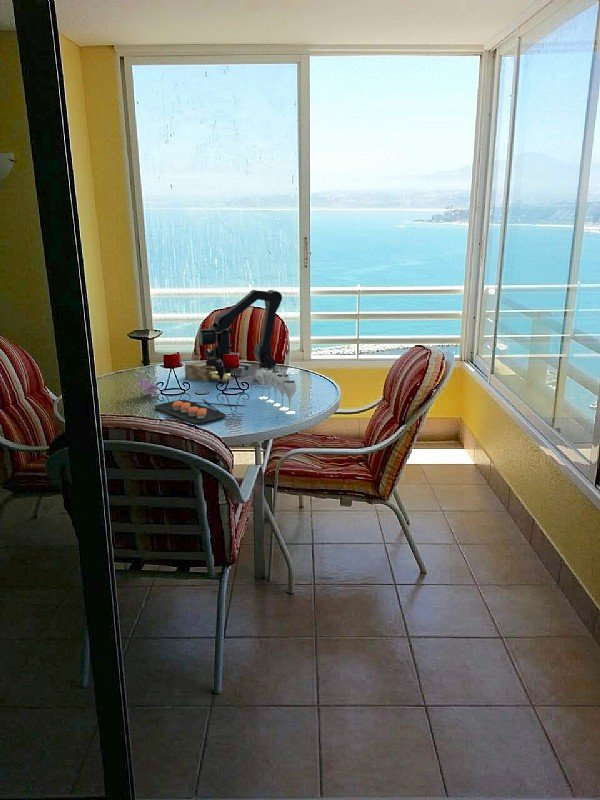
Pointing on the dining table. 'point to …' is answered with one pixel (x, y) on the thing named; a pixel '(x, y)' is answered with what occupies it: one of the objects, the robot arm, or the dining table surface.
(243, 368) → the v block
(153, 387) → the lily
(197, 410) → the sushi plate
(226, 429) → the dining table surface
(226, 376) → the axle
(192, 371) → the wooden block
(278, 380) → the goblet set
